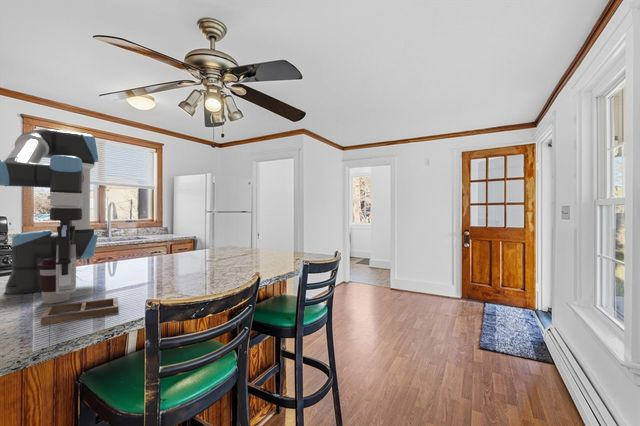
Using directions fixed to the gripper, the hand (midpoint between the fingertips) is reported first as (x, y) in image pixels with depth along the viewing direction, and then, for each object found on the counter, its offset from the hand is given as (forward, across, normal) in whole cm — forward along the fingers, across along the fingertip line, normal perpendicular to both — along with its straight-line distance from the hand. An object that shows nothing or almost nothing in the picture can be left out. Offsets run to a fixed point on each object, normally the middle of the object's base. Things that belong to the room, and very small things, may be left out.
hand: (66, 283), depth 92 cm
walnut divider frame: (+10, +1, +4) cm, 11 cm away
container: (+3, 0, 0) cm, 3 cm away
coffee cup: (+11, -19, -4) cm, 22 cm away
